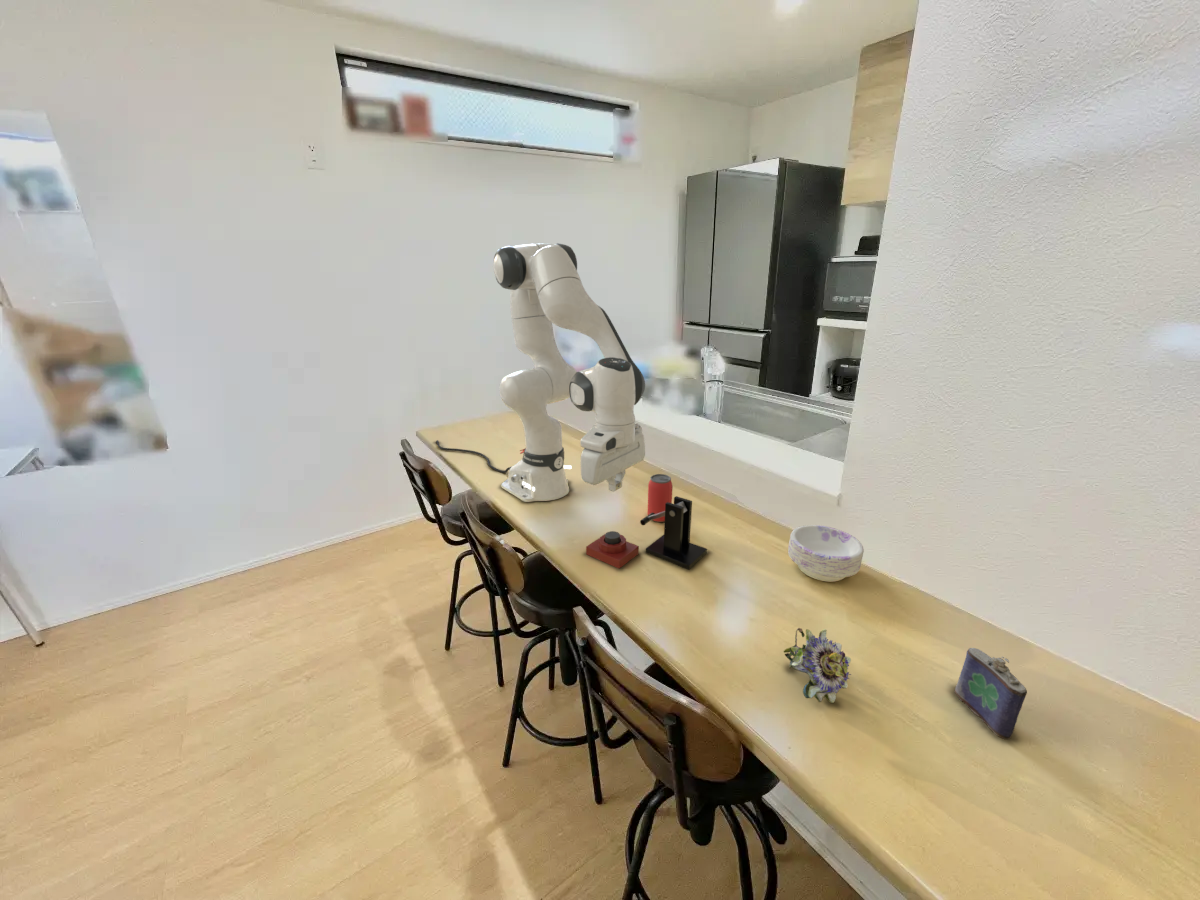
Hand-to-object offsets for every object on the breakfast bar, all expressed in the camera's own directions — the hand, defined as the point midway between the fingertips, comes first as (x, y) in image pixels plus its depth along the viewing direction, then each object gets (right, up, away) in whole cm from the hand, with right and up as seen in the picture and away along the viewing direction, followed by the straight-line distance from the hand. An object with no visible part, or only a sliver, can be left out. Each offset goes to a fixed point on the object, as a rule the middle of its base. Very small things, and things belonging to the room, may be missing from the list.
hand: (615, 489), depth 114 cm
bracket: (+15, -16, +6) cm, 23 cm away
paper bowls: (+47, -19, -1) cm, 51 cm away
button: (-1, -13, +5) cm, 14 cm away
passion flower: (+32, -30, -31) cm, 54 cm away
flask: (+56, -32, -38) cm, 75 cm away
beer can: (+13, -10, +23) cm, 28 cm away
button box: (-1, -16, +6) cm, 17 cm away
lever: (+12, -7, +5) cm, 15 cm away
